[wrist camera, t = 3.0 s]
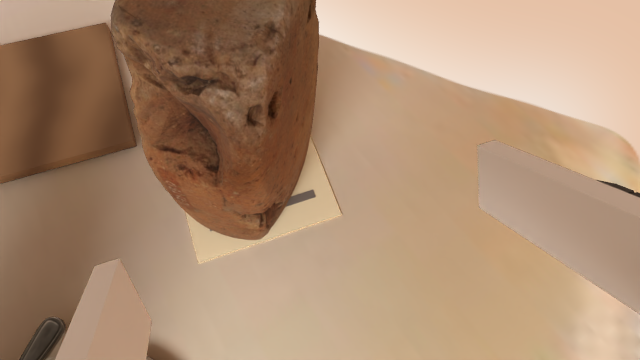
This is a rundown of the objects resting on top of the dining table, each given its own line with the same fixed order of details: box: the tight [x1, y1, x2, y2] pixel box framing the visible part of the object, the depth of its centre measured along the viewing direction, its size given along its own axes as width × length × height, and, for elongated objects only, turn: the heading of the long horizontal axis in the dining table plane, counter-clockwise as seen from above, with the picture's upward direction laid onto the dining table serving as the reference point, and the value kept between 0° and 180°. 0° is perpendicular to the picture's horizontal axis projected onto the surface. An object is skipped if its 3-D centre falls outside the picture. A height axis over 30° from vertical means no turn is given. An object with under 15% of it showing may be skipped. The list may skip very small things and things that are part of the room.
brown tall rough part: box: [111, 0, 319, 240], centre depth 24 cm, size 11×8×20 cm
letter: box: [185, 136, 342, 264], centre depth 34 cm, size 12×16×1 cm
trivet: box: [0, 23, 136, 184], centre depth 34 cm, size 13×13×1 cm
